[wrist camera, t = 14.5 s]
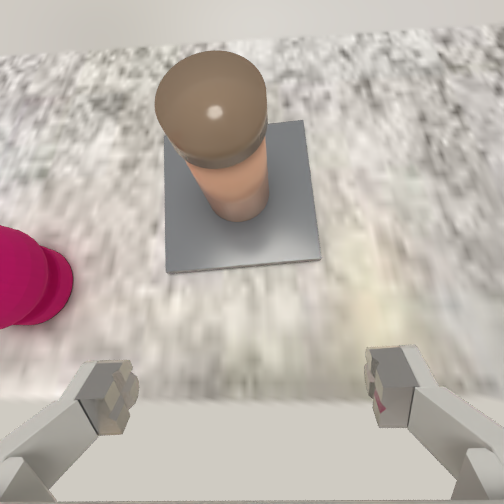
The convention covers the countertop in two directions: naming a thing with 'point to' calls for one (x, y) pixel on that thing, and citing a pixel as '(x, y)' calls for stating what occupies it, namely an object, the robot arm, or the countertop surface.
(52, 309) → the pepper mill
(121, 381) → the robot arm
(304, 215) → the pad
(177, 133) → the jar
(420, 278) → the countertop surface
